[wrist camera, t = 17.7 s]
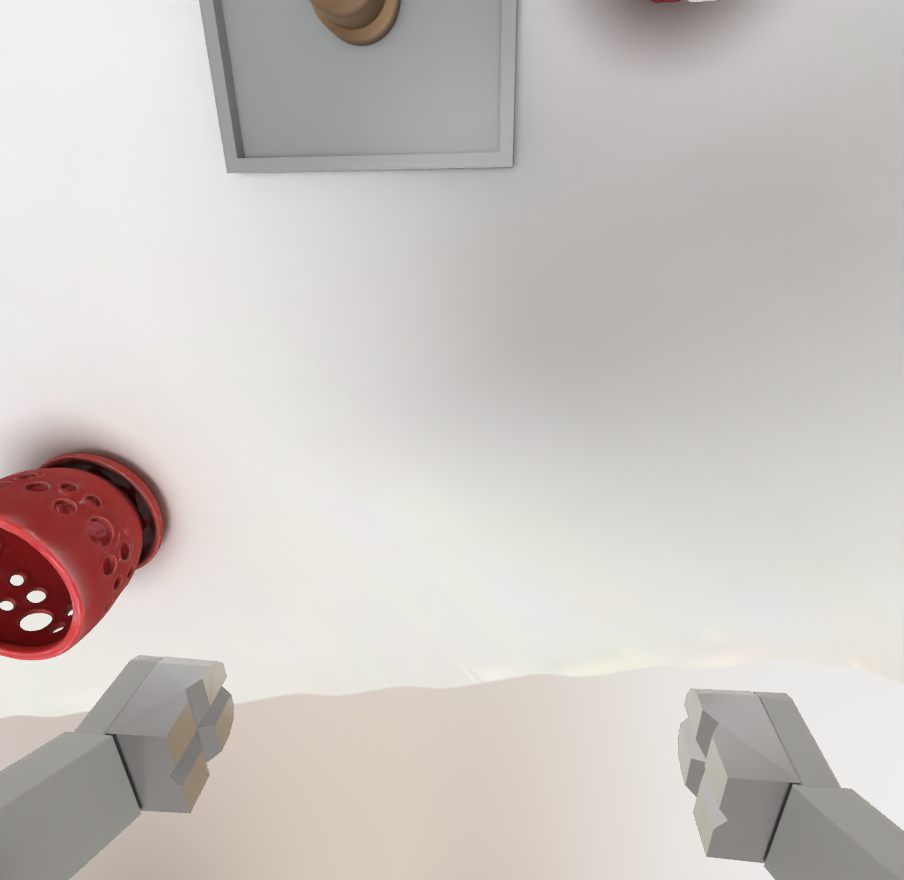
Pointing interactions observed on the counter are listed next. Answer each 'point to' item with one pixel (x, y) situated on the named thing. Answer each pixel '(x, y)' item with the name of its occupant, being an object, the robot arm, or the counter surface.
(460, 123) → the grey tray
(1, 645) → the plant pot
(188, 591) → the counter surface
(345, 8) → the walnut pestle
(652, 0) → the plastic cup
